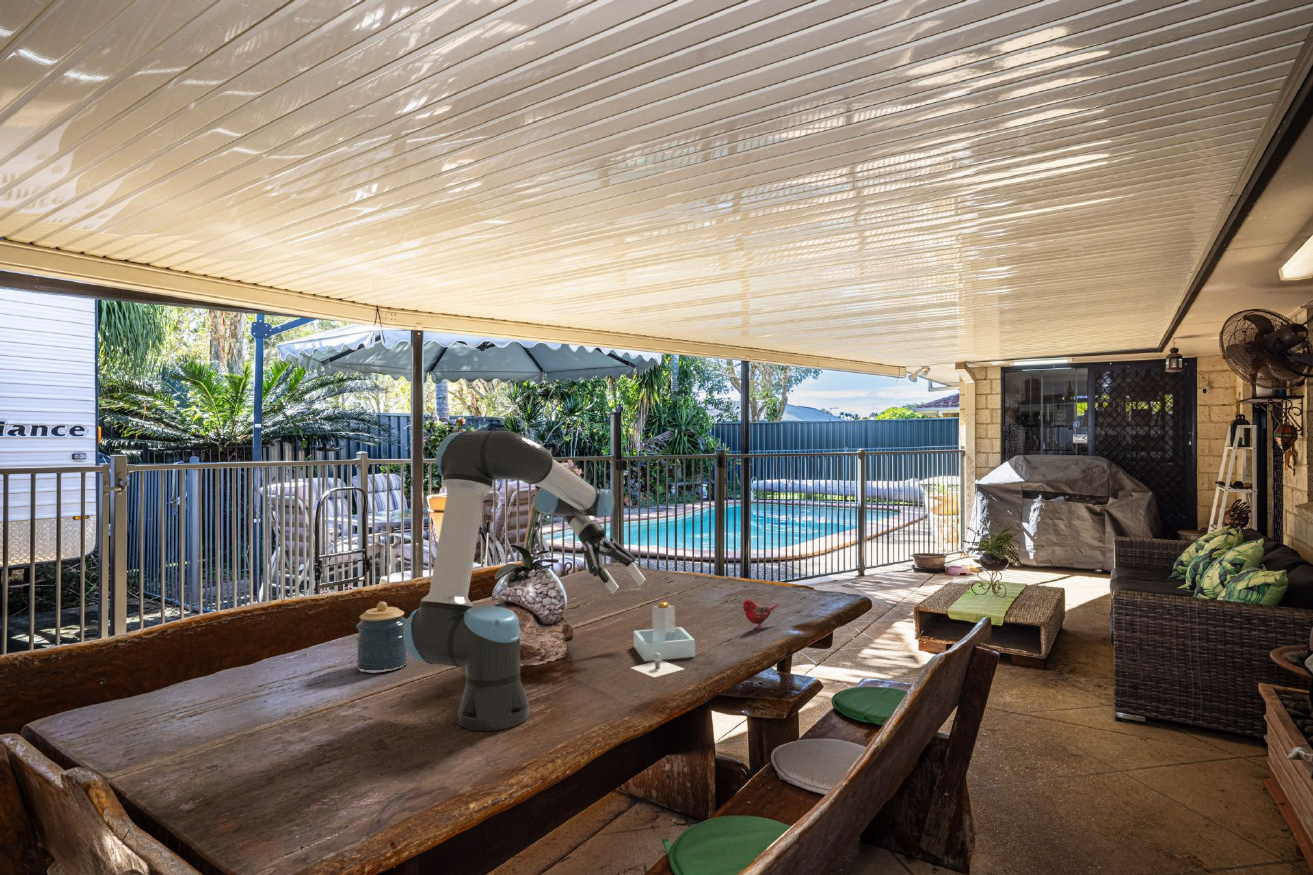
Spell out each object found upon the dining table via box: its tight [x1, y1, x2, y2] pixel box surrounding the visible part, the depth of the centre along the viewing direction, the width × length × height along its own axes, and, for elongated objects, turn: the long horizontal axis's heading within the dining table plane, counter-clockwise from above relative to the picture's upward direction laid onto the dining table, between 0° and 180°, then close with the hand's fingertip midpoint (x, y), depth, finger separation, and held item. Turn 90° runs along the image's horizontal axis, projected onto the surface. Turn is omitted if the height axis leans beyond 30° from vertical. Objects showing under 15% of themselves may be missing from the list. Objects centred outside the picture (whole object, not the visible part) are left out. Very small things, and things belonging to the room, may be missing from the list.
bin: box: [633, 626, 696, 662], centre depth 201 cm, size 14×14×6 cm
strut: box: [651, 601, 676, 642], centre depth 201 cm, size 4×4×14 cm
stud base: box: [630, 653, 685, 678], centre depth 186 cm, size 10×10×6 cm
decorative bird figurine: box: [742, 599, 779, 630], centre depth 230 cm, size 3×18×10 cm, turn 132°
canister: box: [355, 601, 409, 670], centre depth 197 cm, size 13×13×18 cm
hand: (629, 586), depth 206 cm, fingers open, 13 cm apart
